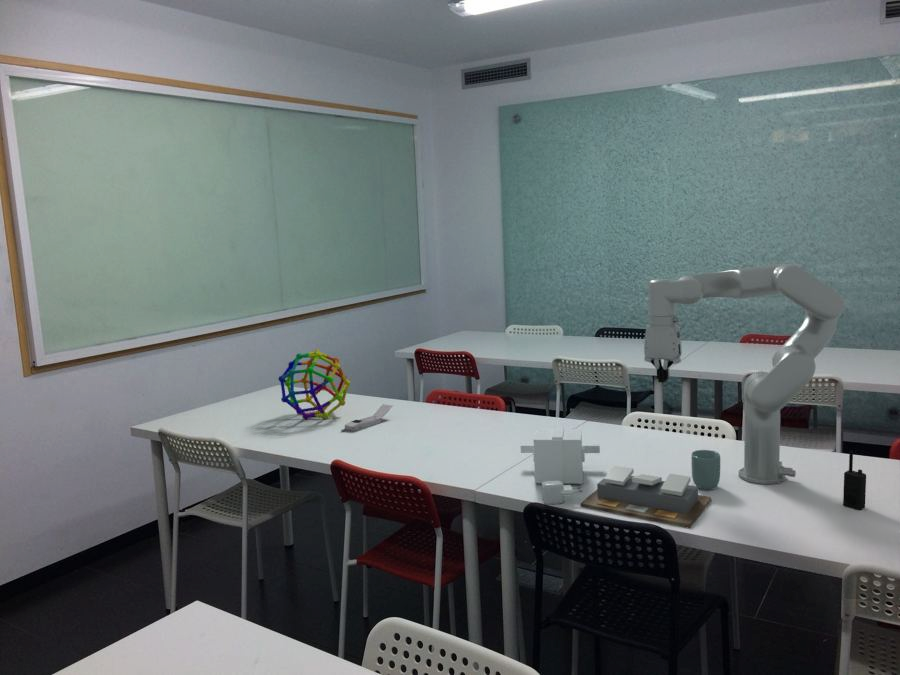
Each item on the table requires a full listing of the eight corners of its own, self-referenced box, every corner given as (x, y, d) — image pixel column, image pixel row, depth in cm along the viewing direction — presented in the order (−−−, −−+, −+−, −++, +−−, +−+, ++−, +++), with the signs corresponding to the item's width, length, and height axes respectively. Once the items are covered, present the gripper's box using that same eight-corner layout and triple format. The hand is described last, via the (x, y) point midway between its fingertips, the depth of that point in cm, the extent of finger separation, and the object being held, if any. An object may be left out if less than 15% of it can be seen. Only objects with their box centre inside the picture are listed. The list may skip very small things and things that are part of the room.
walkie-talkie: (866, 507, 186) (868, 452, 184) (859, 511, 184) (861, 455, 182) (847, 502, 190) (848, 448, 188) (840, 505, 188) (842, 451, 186)
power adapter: (580, 497, 204) (580, 477, 203) (583, 504, 199) (583, 484, 198) (541, 499, 204) (541, 479, 203) (543, 506, 199) (543, 486, 198)
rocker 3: (690, 480, 194) (690, 476, 193) (681, 496, 188) (681, 492, 187) (670, 477, 197) (669, 473, 196) (660, 492, 191) (660, 488, 190)
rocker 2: (661, 481, 198) (661, 477, 198) (651, 485, 192) (652, 480, 192) (642, 478, 202) (642, 474, 202) (631, 481, 195) (632, 477, 195)
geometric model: (369, 357, 309) (312, 336, 320) (330, 369, 282) (270, 345, 293) (355, 421, 316) (300, 398, 327) (316, 438, 289) (258, 413, 300)
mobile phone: (393, 405, 298) (348, 419, 279) (395, 419, 298) (350, 434, 280) (383, 403, 302) (338, 417, 283) (385, 417, 302) (340, 432, 284)
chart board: (711, 500, 196) (711, 496, 196) (690, 528, 180) (689, 523, 180) (608, 482, 213) (608, 478, 213) (580, 506, 197) (580, 502, 197)
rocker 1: (633, 472, 203) (633, 468, 202) (623, 485, 197) (623, 481, 196) (615, 469, 206) (614, 465, 206) (604, 482, 200) (604, 478, 199)
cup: (688, 482, 210) (688, 450, 209) (716, 482, 209) (716, 449, 208) (695, 492, 203) (695, 458, 201) (723, 492, 202) (723, 458, 200)
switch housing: (698, 500, 194) (698, 484, 194) (687, 513, 186) (687, 496, 186) (611, 485, 209) (610, 470, 208) (597, 497, 201) (597, 481, 200)
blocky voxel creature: (599, 462, 237) (601, 487, 210) (524, 461, 242) (516, 486, 215) (598, 418, 236) (599, 437, 209) (523, 418, 241) (515, 437, 213)
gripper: (691, 319, 209) (691, 380, 212) (641, 318, 218) (642, 377, 221) (683, 323, 203) (683, 386, 206) (632, 322, 212) (633, 382, 214)
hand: (662, 381), depth 213 cm, fingers closed
